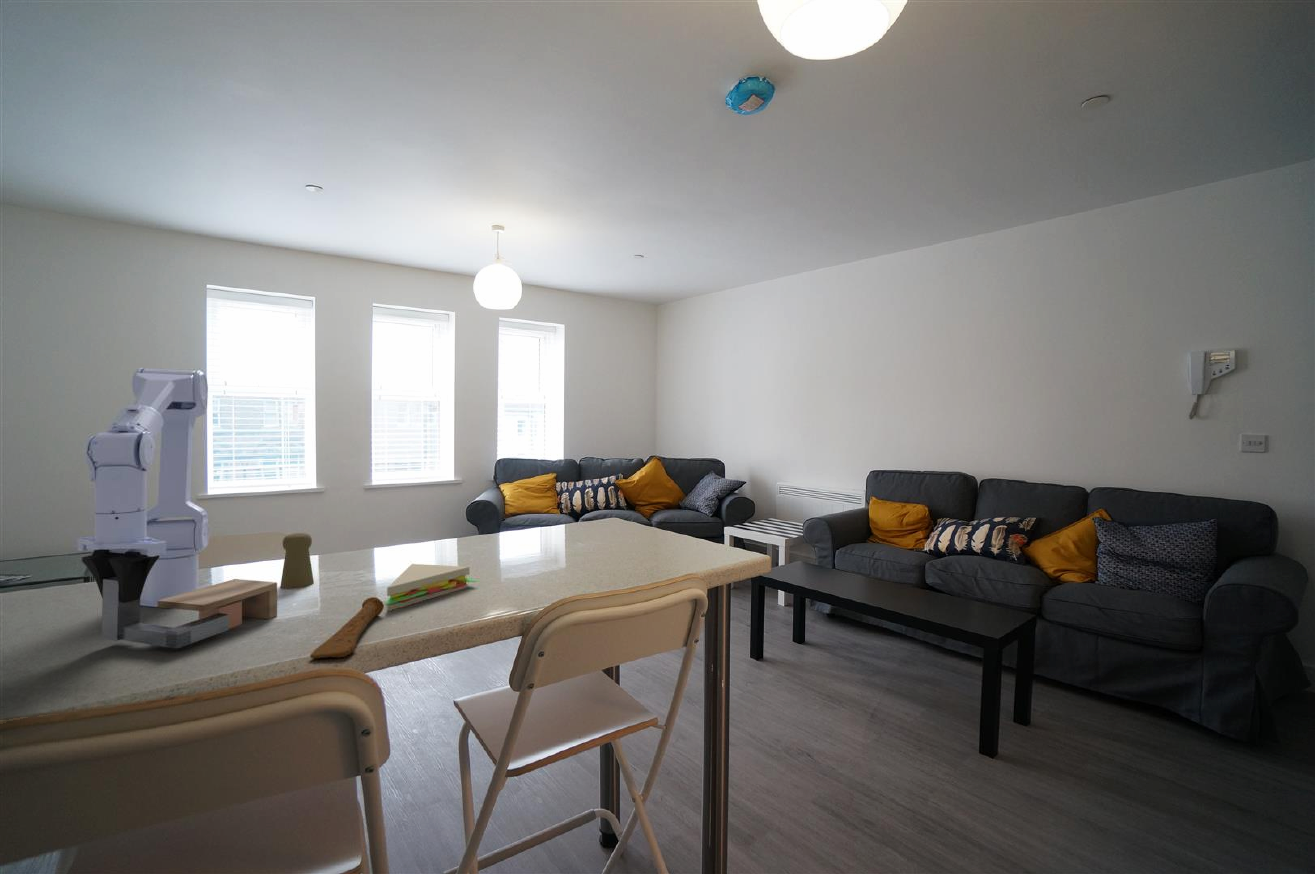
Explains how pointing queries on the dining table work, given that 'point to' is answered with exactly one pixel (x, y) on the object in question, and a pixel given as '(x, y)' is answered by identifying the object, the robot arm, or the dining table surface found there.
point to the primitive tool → (349, 631)
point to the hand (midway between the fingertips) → (121, 600)
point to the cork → (297, 562)
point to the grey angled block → (125, 625)
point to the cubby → (229, 598)
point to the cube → (227, 612)
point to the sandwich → (425, 583)
